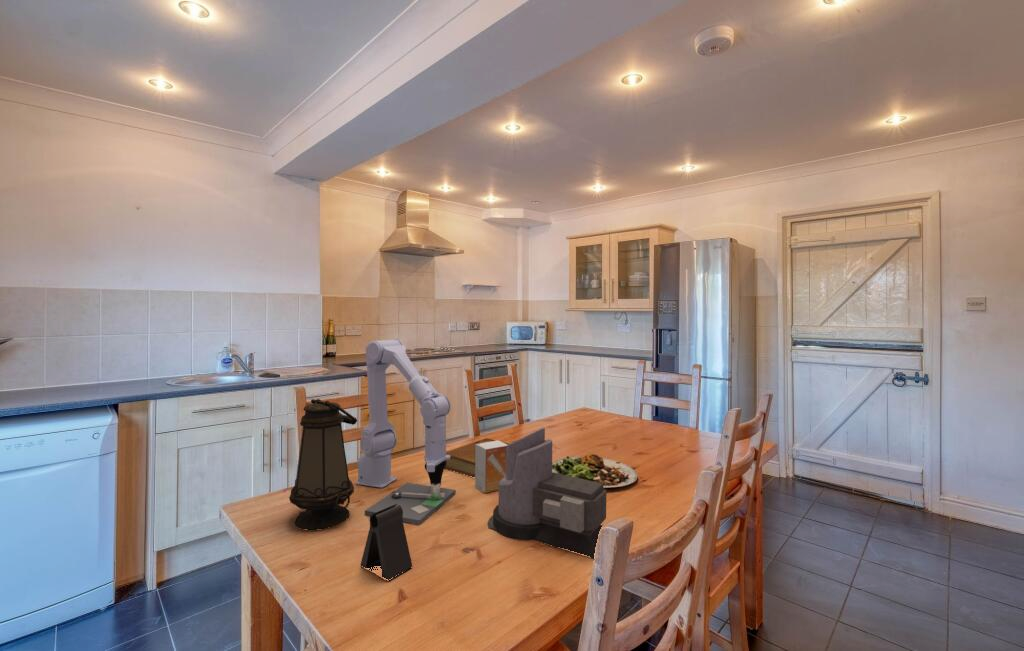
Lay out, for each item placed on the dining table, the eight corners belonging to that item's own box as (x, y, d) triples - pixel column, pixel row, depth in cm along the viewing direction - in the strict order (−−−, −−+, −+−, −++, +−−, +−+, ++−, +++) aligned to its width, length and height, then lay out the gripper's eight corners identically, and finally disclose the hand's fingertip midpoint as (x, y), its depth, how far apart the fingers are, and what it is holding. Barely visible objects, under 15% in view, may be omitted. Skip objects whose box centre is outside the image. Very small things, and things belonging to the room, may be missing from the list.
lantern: (272, 520, 110) (271, 400, 109) (327, 499, 123) (327, 391, 122) (315, 541, 100) (314, 409, 99) (370, 516, 112) (370, 399, 112)
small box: (485, 494, 127) (485, 449, 127) (474, 486, 132) (474, 443, 132) (508, 488, 131) (509, 444, 131) (497, 481, 137) (497, 439, 136)
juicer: (475, 527, 107) (476, 427, 107) (510, 503, 121) (510, 415, 120) (591, 565, 91) (593, 448, 91) (616, 532, 105) (618, 430, 104)
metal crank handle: (390, 497, 120) (390, 483, 120) (394, 493, 123) (394, 479, 123) (439, 500, 118) (439, 486, 118) (442, 496, 121) (442, 482, 121)
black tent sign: (360, 566, 90) (360, 508, 90) (384, 553, 95) (384, 498, 95) (388, 582, 85) (388, 521, 84) (412, 568, 90) (412, 510, 89)
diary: (484, 452, 167) (485, 437, 167) (525, 463, 156) (525, 447, 155) (440, 468, 148) (440, 451, 148) (482, 482, 137) (482, 463, 137)
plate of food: (537, 484, 135) (538, 465, 134) (561, 457, 160) (562, 440, 160) (631, 503, 124) (632, 481, 124) (641, 470, 150) (642, 452, 150)
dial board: (364, 515, 113) (364, 510, 113) (407, 486, 132) (407, 482, 132) (420, 525, 108) (420, 520, 108) (456, 494, 127) (456, 489, 127)
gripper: (445, 448, 114) (445, 500, 115) (453, 433, 129) (454, 479, 129) (418, 448, 114) (418, 499, 115) (429, 433, 129) (430, 479, 129)
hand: (435, 489), depth 122 cm, fingers closed
